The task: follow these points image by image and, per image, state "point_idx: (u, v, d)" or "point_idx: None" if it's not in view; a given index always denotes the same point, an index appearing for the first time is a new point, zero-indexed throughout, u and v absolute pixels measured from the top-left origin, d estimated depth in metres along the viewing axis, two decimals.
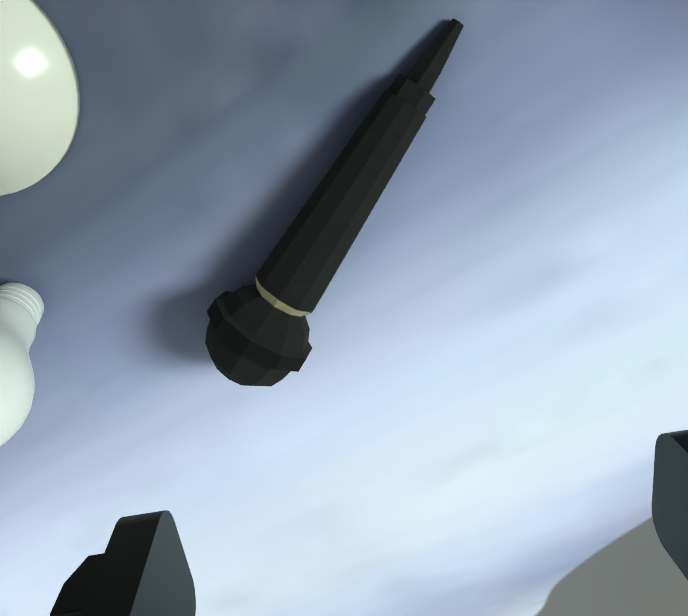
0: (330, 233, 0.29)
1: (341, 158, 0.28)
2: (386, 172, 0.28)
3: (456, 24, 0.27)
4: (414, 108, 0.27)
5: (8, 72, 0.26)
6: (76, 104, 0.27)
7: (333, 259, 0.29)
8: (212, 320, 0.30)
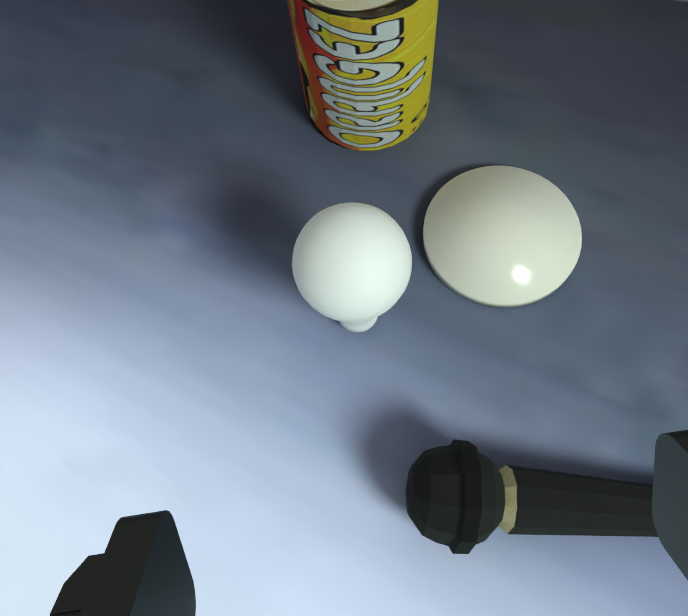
0: (593, 501, 0.31)
1: (638, 484, 0.33)
2: None
3: None
4: None
5: (530, 256, 0.39)
6: (535, 299, 0.38)
7: (573, 517, 0.31)
8: (459, 442, 0.33)
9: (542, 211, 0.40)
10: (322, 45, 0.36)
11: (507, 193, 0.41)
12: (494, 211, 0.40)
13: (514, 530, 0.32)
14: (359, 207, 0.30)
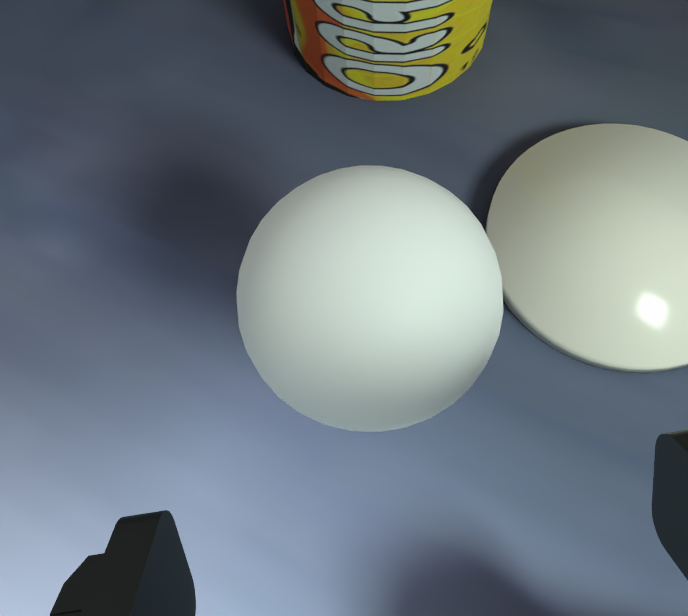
0: None
1: None
2: None
3: None
4: None
5: (683, 280, 0.22)
6: None
7: None
8: None
9: None
10: None
11: (631, 170, 0.24)
12: (611, 200, 0.23)
13: None
14: (388, 173, 0.13)
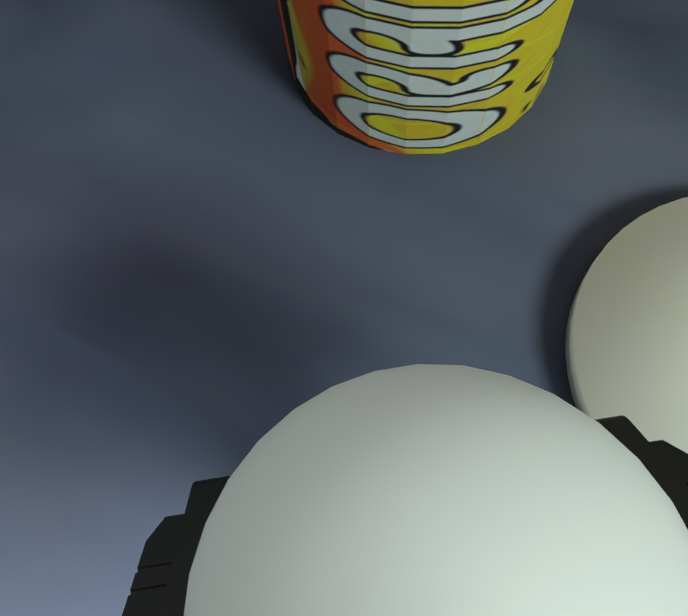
0: None
1: None
2: None
3: None
4: None
5: None
6: None
7: None
8: None
9: None
10: None
11: None
12: None
13: None
14: (494, 421, 0.06)
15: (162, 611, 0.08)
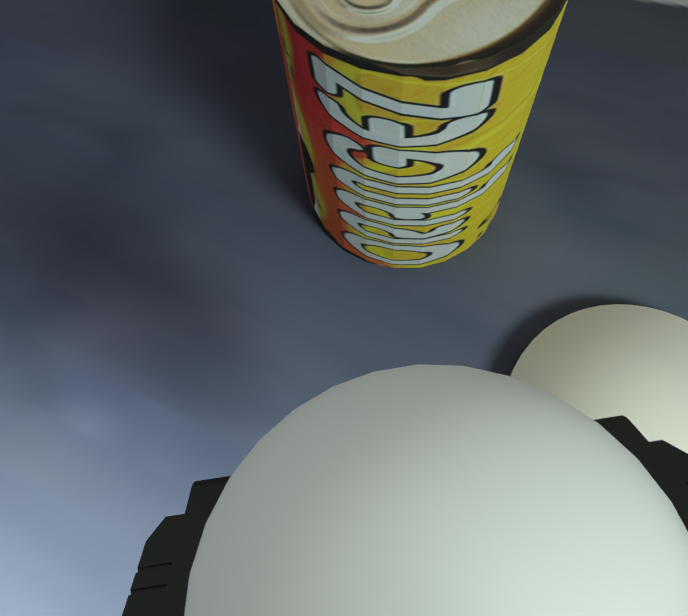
0: None
1: None
2: None
3: None
4: None
5: None
6: None
7: None
8: None
9: None
10: (342, 120, 0.19)
11: (642, 355, 0.25)
12: (623, 388, 0.24)
13: None
14: (493, 422, 0.06)
15: (162, 611, 0.08)
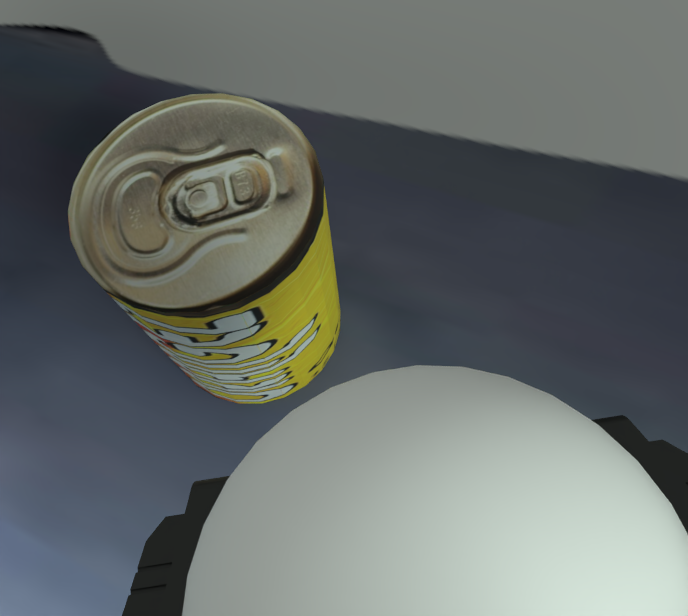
0: None
1: None
2: None
3: None
4: None
5: None
6: None
7: None
8: None
9: None
10: (142, 325, 0.23)
11: None
12: None
13: None
14: (492, 423, 0.06)
15: (162, 611, 0.08)
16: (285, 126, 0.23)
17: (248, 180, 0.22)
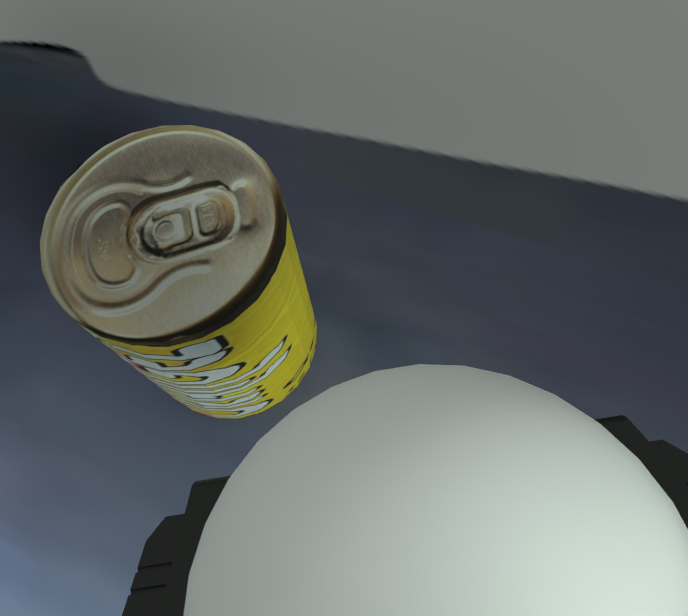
0: None
1: None
2: None
3: None
4: None
5: None
6: None
7: None
8: None
9: None
10: (114, 350, 0.24)
11: None
12: None
13: None
14: (494, 422, 0.06)
15: (162, 611, 0.08)
16: (250, 158, 0.23)
17: (213, 212, 0.23)
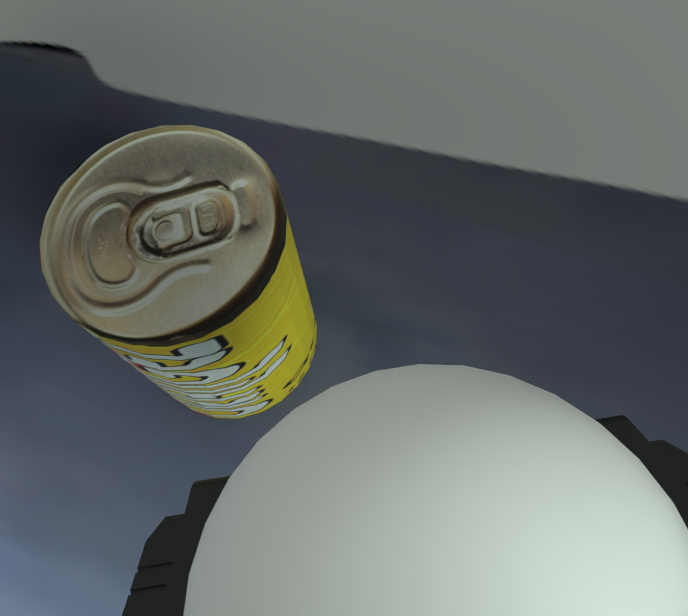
0: None
1: None
2: None
3: None
4: None
5: None
6: None
7: None
8: None
9: None
10: (113, 349, 0.24)
11: None
12: None
13: None
14: (494, 422, 0.06)
15: (162, 611, 0.08)
16: (250, 157, 0.23)
17: (213, 212, 0.23)
